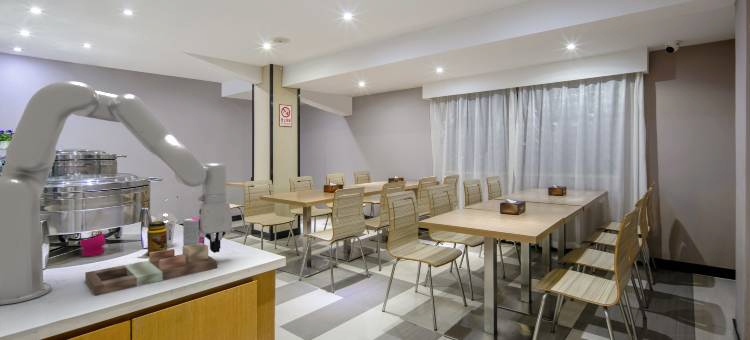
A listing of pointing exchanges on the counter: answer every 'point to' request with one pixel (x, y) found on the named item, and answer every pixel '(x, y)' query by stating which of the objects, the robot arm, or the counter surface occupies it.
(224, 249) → the counter surface
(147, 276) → the board
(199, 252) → the maple block
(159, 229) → the condiment
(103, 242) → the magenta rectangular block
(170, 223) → the cup with straw
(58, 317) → the counter surface
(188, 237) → the supplement box
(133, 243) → the counter surface
